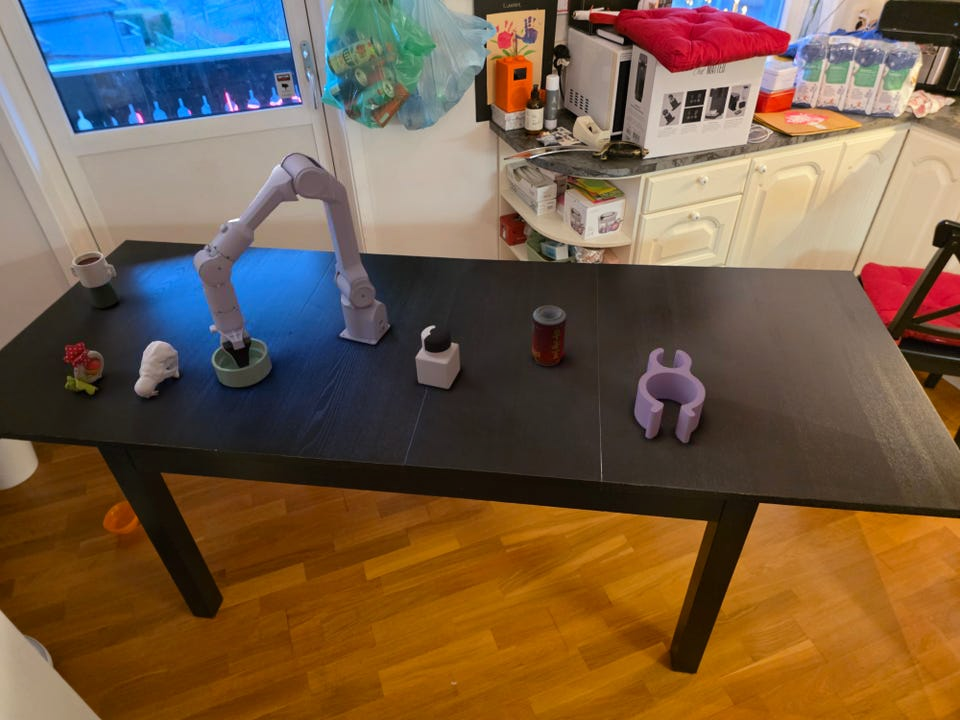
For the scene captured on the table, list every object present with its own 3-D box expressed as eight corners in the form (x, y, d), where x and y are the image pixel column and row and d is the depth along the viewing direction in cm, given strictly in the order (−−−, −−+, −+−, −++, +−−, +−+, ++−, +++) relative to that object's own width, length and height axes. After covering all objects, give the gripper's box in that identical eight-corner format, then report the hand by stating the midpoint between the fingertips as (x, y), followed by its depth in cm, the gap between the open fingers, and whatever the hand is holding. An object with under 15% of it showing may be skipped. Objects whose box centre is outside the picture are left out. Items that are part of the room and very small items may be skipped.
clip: (635, 371, 142) (639, 345, 137) (695, 377, 140) (701, 351, 135) (633, 436, 126) (638, 410, 122) (701, 444, 124) (708, 418, 120)
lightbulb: (251, 380, 142) (237, 339, 135) (225, 377, 143) (210, 336, 136) (263, 362, 146) (251, 322, 140) (238, 359, 147) (225, 319, 141)
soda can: (547, 344, 150) (550, 299, 142) (570, 358, 146) (573, 313, 138) (524, 356, 147) (525, 311, 139) (546, 372, 142) (549, 326, 135)
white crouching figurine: (174, 338, 141) (143, 377, 132) (188, 366, 146) (159, 406, 138) (147, 335, 142) (115, 374, 133) (162, 363, 148) (132, 403, 139)
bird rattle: (89, 383, 146) (57, 396, 138) (84, 335, 144) (51, 344, 135) (114, 386, 145) (84, 399, 137) (110, 338, 143) (78, 347, 134)
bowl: (282, 361, 147) (278, 344, 144) (251, 394, 139) (245, 376, 136) (240, 351, 151) (234, 333, 148) (206, 382, 143) (200, 364, 139)
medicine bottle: (460, 369, 144) (458, 324, 136) (448, 390, 138) (445, 344, 131) (430, 363, 146) (426, 318, 138) (417, 383, 140) (412, 338, 133)
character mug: (134, 295, 171) (116, 251, 163) (122, 311, 165) (102, 266, 157) (93, 295, 171) (73, 251, 163) (80, 311, 166) (58, 266, 158)
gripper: (197, 294, 138) (215, 345, 146) (210, 329, 128) (229, 382, 136) (231, 284, 140) (247, 336, 149) (247, 318, 130) (263, 371, 139)
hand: (240, 357), depth 143 cm, fingers closed on lightbulb, 6 cm apart
